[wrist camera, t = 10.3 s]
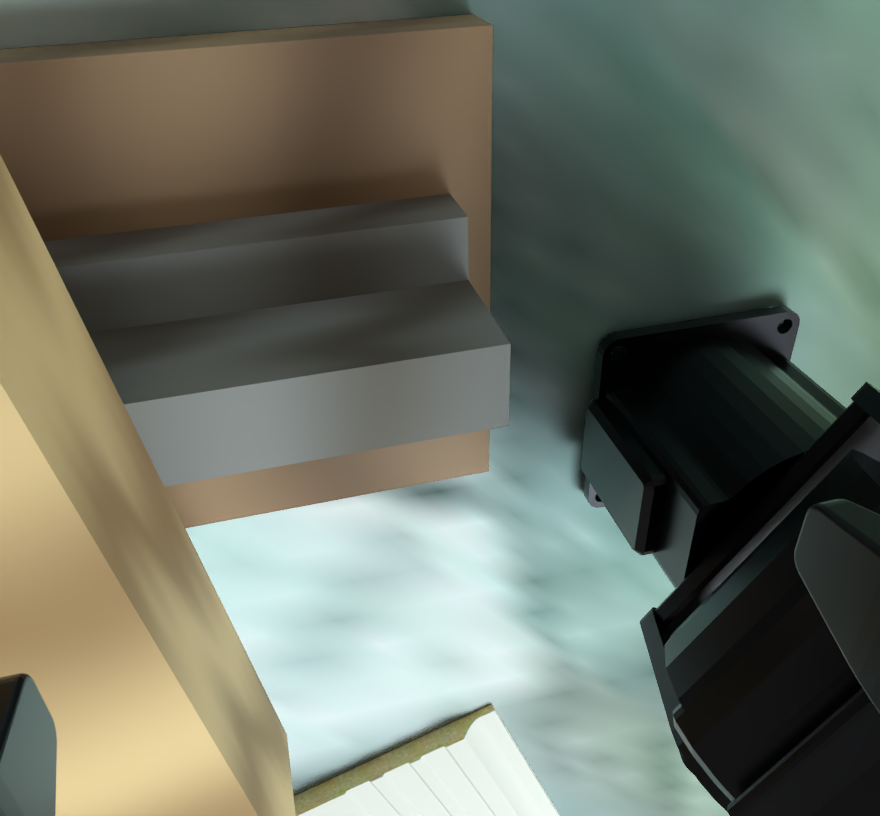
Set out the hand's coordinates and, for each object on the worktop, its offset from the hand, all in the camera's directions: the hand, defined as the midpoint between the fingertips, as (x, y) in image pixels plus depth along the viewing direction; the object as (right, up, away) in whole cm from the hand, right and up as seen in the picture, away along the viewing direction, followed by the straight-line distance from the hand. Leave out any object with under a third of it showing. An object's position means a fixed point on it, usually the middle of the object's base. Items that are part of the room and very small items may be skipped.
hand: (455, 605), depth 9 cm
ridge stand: (-9, +5, +10) cm, 14 cm away
